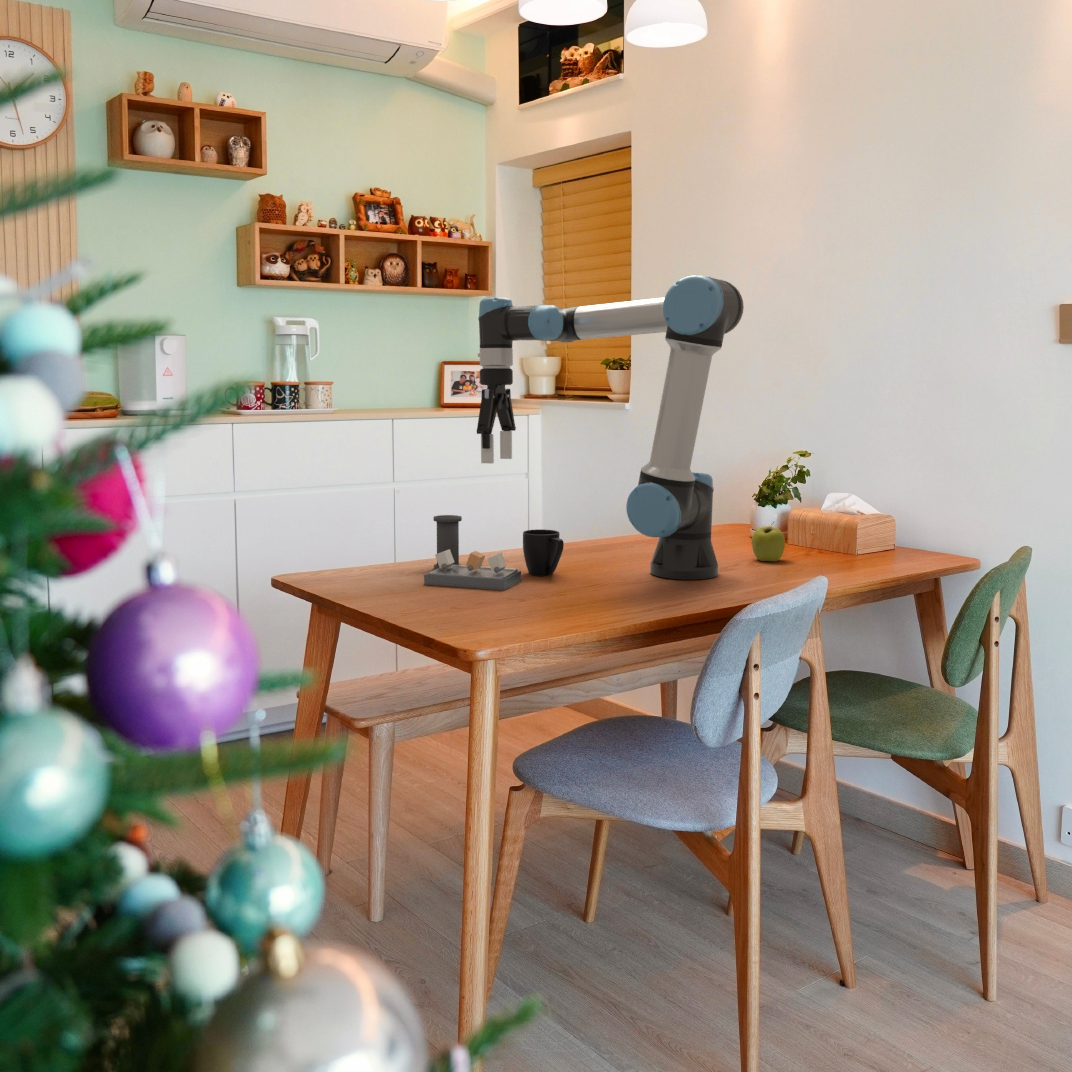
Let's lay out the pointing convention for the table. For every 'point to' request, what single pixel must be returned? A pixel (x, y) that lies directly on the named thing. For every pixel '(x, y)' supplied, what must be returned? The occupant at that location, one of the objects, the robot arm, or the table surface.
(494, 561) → the paddle
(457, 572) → the breaker strip
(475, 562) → the paddle mid
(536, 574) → the mug
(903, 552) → the table surface
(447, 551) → the paddle
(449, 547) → the dark grey flanged cylinder
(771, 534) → the apple
